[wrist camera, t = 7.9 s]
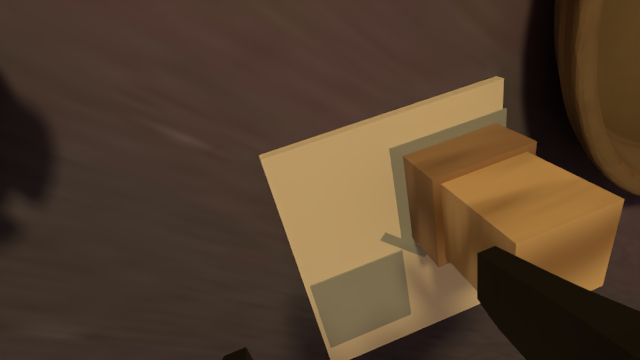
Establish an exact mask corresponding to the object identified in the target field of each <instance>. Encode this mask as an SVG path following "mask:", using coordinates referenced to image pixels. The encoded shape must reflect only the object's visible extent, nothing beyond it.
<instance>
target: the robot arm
mask: <svg viewBox="0 0 640 360" xmlns="http://www.w3.org/2000/svg"><path fill="white" fill-rule="evenodd" d="M477 299H478V301H479V302H480V303H481V305H482V306H483V308H484V309H485V311H486V312H487V313H488V315H489V316H490V318H491V319H492V320H493V322H494V323H495V324H496V326H497V327H498V328H499V330H500V331H501V332H502V333H503V334H504V335H505V336H506V338H507V339H508V340H509V341H510V342H511V343H512V344H513V345H514V346H515V348H516V349H517V350H518V351H519V352H520V353H521V354H522V355H523V356H524V357H525V359H526V360H640V311H638V310H635V309H633V308H630V307H628V306H625V305H623V304H620V303H618V302H615V301H613V300H611V299H608V298H606V297H603V296H601V295H599V294H596V293H594V292H592V291H589V290H587V289H585V288H583V287H580V286H578V285H576V284H574V283H572V282H570V281H567V280H565V279H563V278H561V277H559V276H557V275H555V274H552V273H550V272H548V271H546V270H544V269H542V268H540V267H538V266H536V265H534V264H532V263H530V262H528V261H526V260H523V259H521V258H519V257H517V256H515V255H513V254H511V253H509V252H507V251H505V250H503V249H501V248H499V247H497V246H493V247H491V248H488V249H486V250H483V251H481V252H479V253H477ZM222 360H253V359H252V357H251V356H250V354H249V352H248V350H247V348H246V347H245V348H243V349H240V350H238V351H235V352H233V353H231V354H228V355H226V356H224V357H223V359H222Z"/></svg>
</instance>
